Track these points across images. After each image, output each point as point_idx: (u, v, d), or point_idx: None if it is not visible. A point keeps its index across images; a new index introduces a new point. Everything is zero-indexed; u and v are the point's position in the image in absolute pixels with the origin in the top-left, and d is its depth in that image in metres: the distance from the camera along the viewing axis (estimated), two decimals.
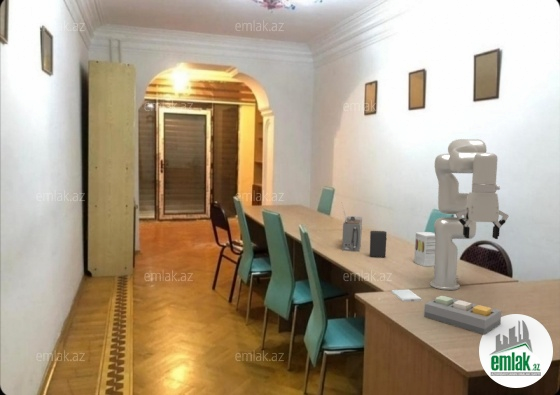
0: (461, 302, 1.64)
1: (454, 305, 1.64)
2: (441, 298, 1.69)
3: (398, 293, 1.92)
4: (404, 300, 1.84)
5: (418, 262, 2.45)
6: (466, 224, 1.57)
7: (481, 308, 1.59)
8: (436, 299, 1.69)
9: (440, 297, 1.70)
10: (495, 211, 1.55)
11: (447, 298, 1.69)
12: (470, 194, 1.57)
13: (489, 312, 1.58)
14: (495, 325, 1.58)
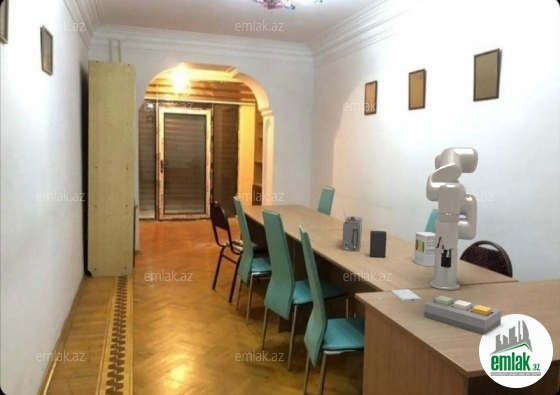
0: (461, 302, 1.64)
1: (454, 305, 1.64)
2: (441, 298, 1.69)
3: (398, 293, 1.92)
4: (404, 300, 1.84)
5: (418, 262, 2.45)
6: (448, 255, 1.65)
7: (481, 308, 1.59)
8: (436, 299, 1.69)
9: (440, 297, 1.70)
10: (457, 237, 1.67)
11: (447, 298, 1.69)
12: (443, 224, 1.63)
13: (489, 312, 1.58)
14: (495, 325, 1.58)
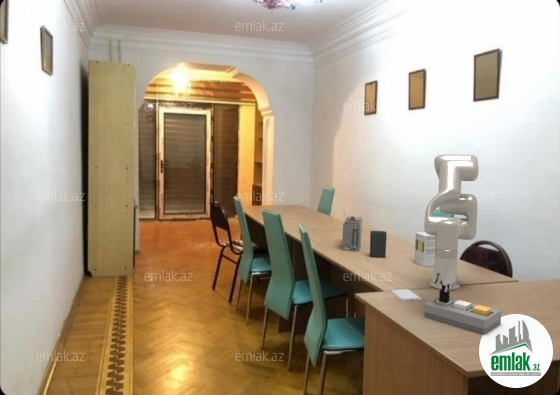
0: (461, 302, 1.64)
1: (454, 305, 1.64)
2: None
3: (398, 293, 1.92)
4: (404, 300, 1.84)
5: (418, 262, 2.45)
6: (446, 290, 1.67)
7: (481, 308, 1.59)
8: (436, 302, 1.69)
9: None
10: (455, 272, 1.69)
11: None
12: (441, 260, 1.64)
13: (489, 312, 1.58)
14: (495, 325, 1.58)
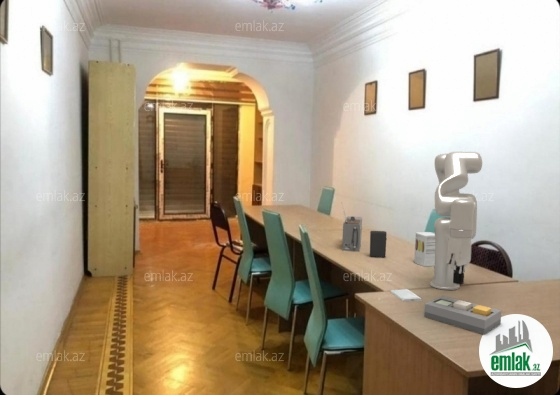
0: (461, 302, 1.64)
1: (454, 305, 1.64)
2: (441, 303, 1.69)
3: (398, 293, 1.92)
4: (404, 300, 1.85)
5: (418, 262, 2.45)
6: (460, 271, 1.62)
7: (481, 308, 1.59)
8: None
9: (440, 302, 1.70)
10: (470, 253, 1.64)
11: (447, 303, 1.69)
12: (455, 240, 1.60)
13: (489, 312, 1.58)
14: (495, 325, 1.58)
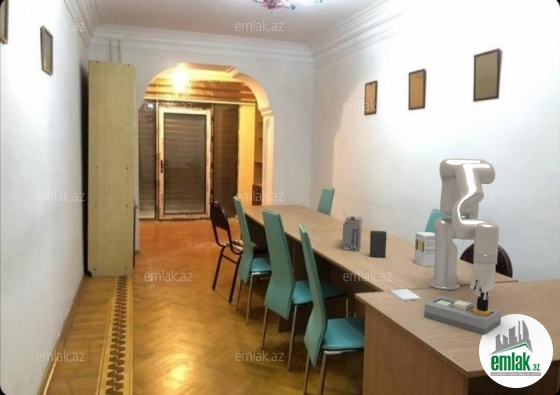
0: (461, 302, 1.64)
1: (454, 305, 1.64)
2: (441, 303, 1.69)
3: (397, 293, 1.92)
4: (404, 300, 1.85)
5: (418, 262, 2.45)
6: (485, 298, 1.57)
7: (481, 310, 1.59)
8: None
9: (440, 302, 1.70)
10: (494, 278, 1.59)
11: (447, 303, 1.69)
12: (480, 266, 1.54)
13: (489, 314, 1.58)
14: (495, 325, 1.58)
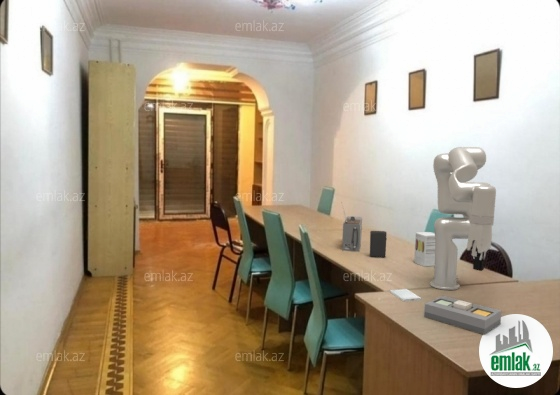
0: (461, 302, 1.64)
1: (454, 305, 1.64)
2: (441, 303, 1.69)
3: (397, 293, 1.92)
4: (404, 300, 1.85)
5: (418, 262, 2.45)
6: (481, 258, 1.62)
7: (481, 313, 1.59)
8: None
9: (440, 302, 1.70)
10: (490, 239, 1.63)
11: (447, 303, 1.69)
12: (477, 227, 1.58)
13: None
14: (495, 325, 1.58)
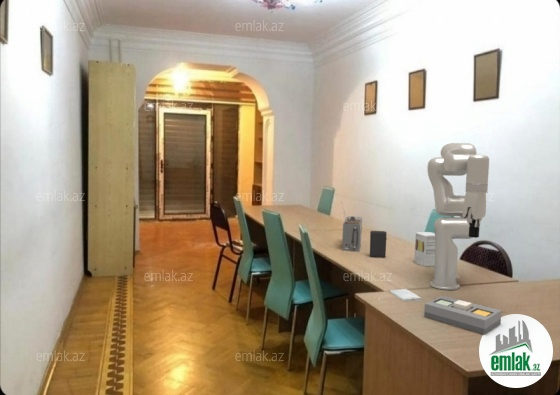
0: (461, 302, 1.64)
1: (454, 305, 1.64)
2: (441, 303, 1.69)
3: (397, 293, 1.92)
4: (405, 300, 1.85)
5: (418, 262, 2.45)
6: (476, 225, 1.68)
7: (481, 313, 1.59)
8: None
9: (440, 302, 1.70)
10: (485, 208, 1.70)
11: (447, 303, 1.69)
12: (472, 194, 1.66)
13: None
14: (495, 325, 1.58)
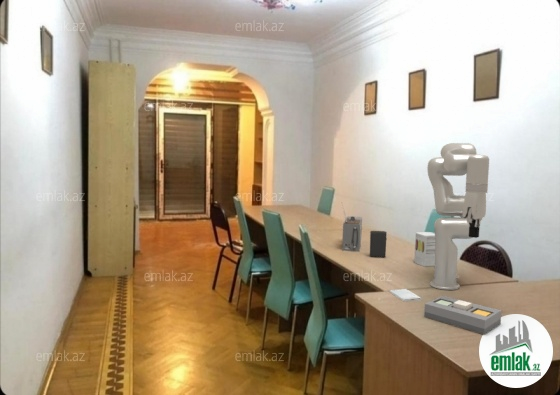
0: (461, 302, 1.64)
1: (454, 305, 1.64)
2: (441, 303, 1.69)
3: (397, 293, 1.92)
4: (405, 300, 1.85)
5: (418, 262, 2.45)
6: (476, 225, 1.68)
7: (481, 313, 1.59)
8: None
9: (440, 302, 1.70)
10: (485, 208, 1.70)
11: (447, 303, 1.69)
12: (472, 194, 1.66)
13: None
14: (495, 325, 1.58)
